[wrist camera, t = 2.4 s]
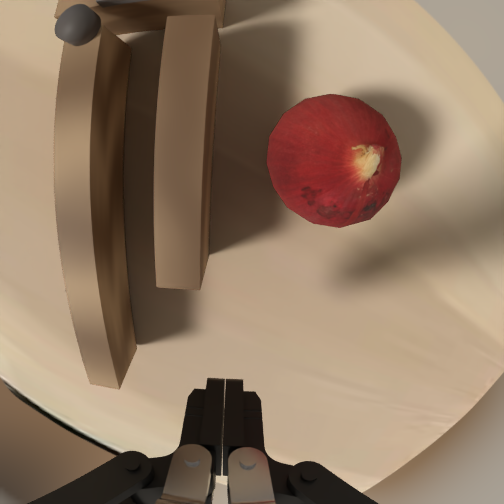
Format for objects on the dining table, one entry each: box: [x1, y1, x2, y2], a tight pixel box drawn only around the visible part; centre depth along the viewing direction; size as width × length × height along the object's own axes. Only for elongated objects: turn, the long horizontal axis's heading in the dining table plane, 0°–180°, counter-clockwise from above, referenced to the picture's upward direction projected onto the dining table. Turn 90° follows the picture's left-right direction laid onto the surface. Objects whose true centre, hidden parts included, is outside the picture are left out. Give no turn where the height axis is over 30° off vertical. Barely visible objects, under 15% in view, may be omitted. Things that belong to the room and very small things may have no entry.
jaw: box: [54, 4, 137, 389], centre depth 14 cm, size 20×2×5 cm, turn 176°
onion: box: [266, 94, 402, 228], centre depth 12 cm, size 6×6×8 cm
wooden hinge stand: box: [54, 0, 226, 290], centre depth 13 cm, size 8×15×5 cm, turn 176°
